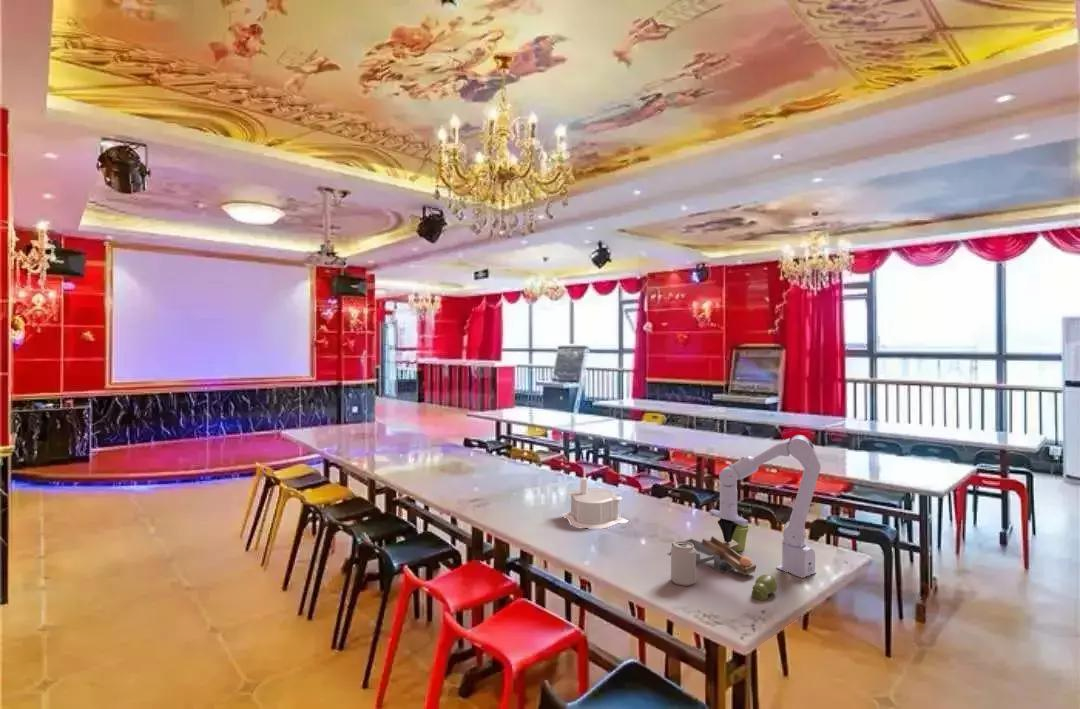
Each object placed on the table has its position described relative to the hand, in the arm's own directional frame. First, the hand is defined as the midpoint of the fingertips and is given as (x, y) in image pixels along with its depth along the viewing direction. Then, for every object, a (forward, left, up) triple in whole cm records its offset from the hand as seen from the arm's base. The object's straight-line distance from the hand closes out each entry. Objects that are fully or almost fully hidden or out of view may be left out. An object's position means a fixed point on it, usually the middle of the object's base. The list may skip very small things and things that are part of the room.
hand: (727, 541), depth 192 cm
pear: (-24, +14, -6) cm, 29 cm away
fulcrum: (-4, +6, -6) cm, 10 cm away
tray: (+9, +6, -6) cm, 13 cm away
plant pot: (+5, -11, -6) cm, 13 cm away
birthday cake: (+60, +11, -7) cm, 61 cm away
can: (-5, +27, -6) cm, 29 cm away
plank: (-5, +3, -3) cm, 6 cm away
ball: (-12, +6, -2) cm, 14 cm away
